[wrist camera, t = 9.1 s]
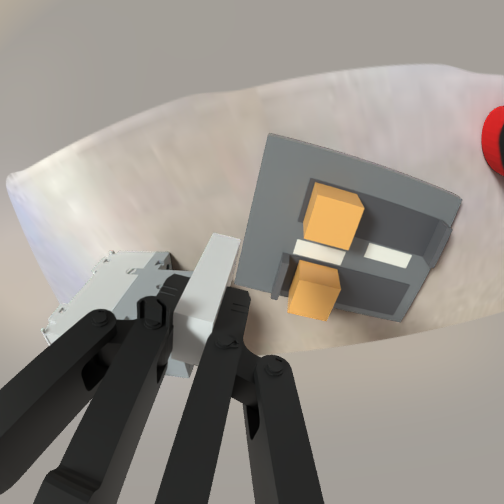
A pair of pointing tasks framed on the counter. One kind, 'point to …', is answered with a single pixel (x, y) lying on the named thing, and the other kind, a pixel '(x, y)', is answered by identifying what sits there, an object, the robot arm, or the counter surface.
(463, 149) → the counter surface
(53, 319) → the circuit breaker
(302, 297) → the tab
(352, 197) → the tab
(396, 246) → the switch board
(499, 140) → the soda can
